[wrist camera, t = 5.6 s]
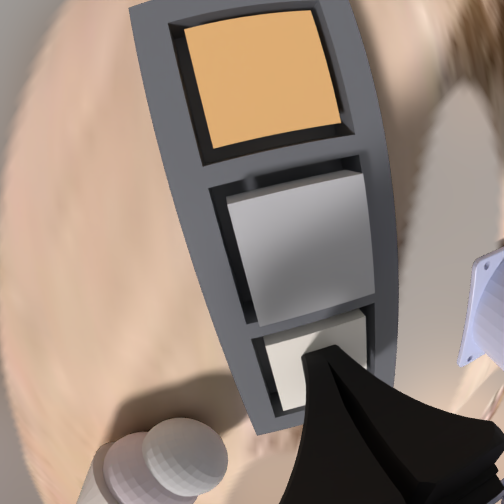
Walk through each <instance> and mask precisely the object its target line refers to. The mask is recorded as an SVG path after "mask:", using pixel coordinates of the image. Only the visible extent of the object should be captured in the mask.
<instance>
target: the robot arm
mask: <svg viewBox="0 0 504 504" xmlns="http://www.w3.org/2000/svg"><path fill="white" fill-rule="evenodd" d="M485 353H486V354H487V355H488V356H489V357H490V358H491V359H492V360H493V361H494V362H495V363H496V364H497V365H498V366H499V367H500V368H501V369H502V370H503V371H504V246H503V247H501V248H499V249H497V250H495V251H493V252H490V253H488V254H486V255H483V256H481V257H479V258H477V259H476V260H475V261H474V263H473V266H472V275H471V284H470V293H469V301H468V308H467V314H466V321H465V325H464V331H463V336H462V341H461V346H460V350H459V355H458V359H457V364H458V366H459V367H463V366H465V365H467V364H468V363H470V362H472V361H474V360H475V359H477V358H478V357H480V356H482V355H483V354H485ZM301 361H302V366H303V372H304V377H305V383H306V404H305V416H304V424H303V430H302V436H301V441H300V445H299V449H298V453H297V457H296V461H295V464H294V467H293V470H292V473H291V476H290V479H289V482H288V484H287V487H286V490H285V492H284V494H283V496H282V498H281V501H280V503H279V504H495V503H496V502H498V501H499V500H500V499H502V501H501V504H504V478H503V479H502V480H501V481H500V480H499V478H498V477H497V475H496V473H497V472H498V469H497V467H496V465H495V464H494V463H495V462H496V461H497V459H498V458H499V457H500V455H501V454H502V453H503V451H504V433H503V432H502V431H501V429H500V428H499V427H497V426H496V424H495V423H494V422H492V421H487V420H480V419H474V418H468V417H464V416H460V415H456V414H452V413H449V412H446V411H443V410H440V409H437V408H434V407H432V406H429V405H427V404H424V403H422V402H420V401H418V400H415V399H413V398H411V397H409V396H407V395H405V394H403V393H402V392H399V391H398V390H396V389H395V388H393V387H391V386H390V385H388V384H387V383H385V382H383V381H382V380H380V379H379V378H377V377H376V376H375V375H373V374H372V373H370V372H369V371H368V370H366V369H365V368H364V367H362V366H361V365H360V364H359V363H357V362H356V361H355V360H354V359H352V358H351V357H350V356H349V355H348V354H347V353H346V352H344V351H343V350H342V349H341V348H340V347H339V346H338V345H336V344H334V345H331V346H328V347H325V348H322V349H319V350H315V351H312V352H308V353H305V354H303V355H302V356H301Z"/></svg>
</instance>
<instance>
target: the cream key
mask: <svg viewBox="0 0 504 504" xmlns="http://www.w3.org/2000/svg"><path fill="white" fill-rule="evenodd" d="M263 338H264V343H265V347H266V350H267V354H268V357H269V361H270V365H271V368H272V372H273V376H274V379H275V383H276V387H277V390H278V394H279V397H280V401H281V404H282V408H283V411H285V410H289V409H293V408H296V407H300V406H303V405H305V404H306V383H305V377H304V372H303V366H302V361H301V356H302V355H303V354H305V353H308V352H312V351H315V350H319V349H322V348H325V347H328V346H331V345H334V344H336V345H338V346H339V347H340V348H341V349H342V350H343V351H344V352H346V353H347V354H348V355H349V356H350V357H351V358H352V359H354V360H355V361H356V362H357V363H359V364H360V365H361V366H362V367H364V368H365V369H366V370H367V350H366V316H365V315H364V314H363V313H362V311H361V310H360V309H359V308H357V309H354V310H351V311H348V312H345V313H342V314H339V315H335V316H332V317H329V318H326V319H322V320H319V321H316V322H312V323H309V324H305V325H302V326H298V327H295V328H291V329H288V330H284V331H280V332H277V333H273V334H269V335H265V336H263Z"/></svg>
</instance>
